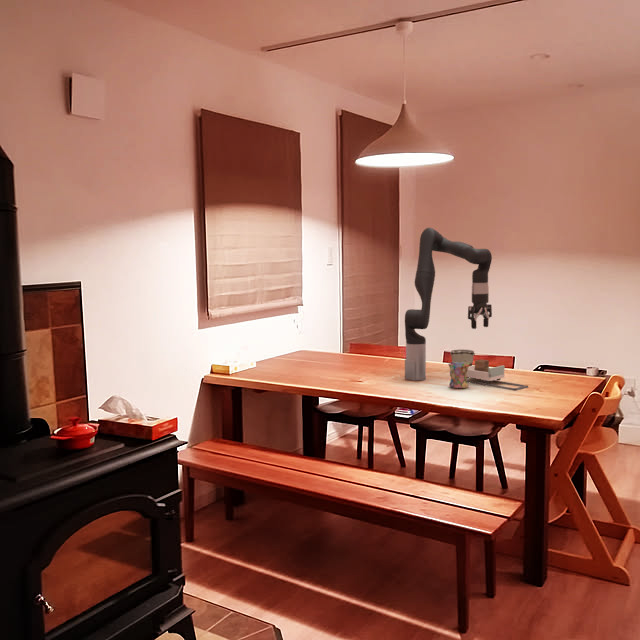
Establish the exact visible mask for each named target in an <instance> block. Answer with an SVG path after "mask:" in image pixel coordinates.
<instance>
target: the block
mask: <svg viewBox="0 0 640 640" xmlns="http://www.w3.org/2000/svg"><path fill="white" fill-rule="evenodd" d="M474 366H475V370H476V371H482V372H488V368H490V360H487V359H476V360H474Z"/></svg>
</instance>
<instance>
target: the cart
mask: <svg viewBox="0 0 640 640" xmlns="http://www.w3.org/2000/svg"><path fill="white" fill-rule="evenodd" d="M505 368H506V367H505V365H503V364H502V365H498V366H494V367H489V368H488V372H482V371H476V370H475V365H472V366H469V367H468V370H467V377H470V378H469V379H473V378H476V379H475V380H479V379H481V381H483V383H487V384H490V382H491V381H492V380H497V381H502V380H501V379H504V378H505V373H506V371H505V370H506V369H505Z"/></svg>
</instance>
